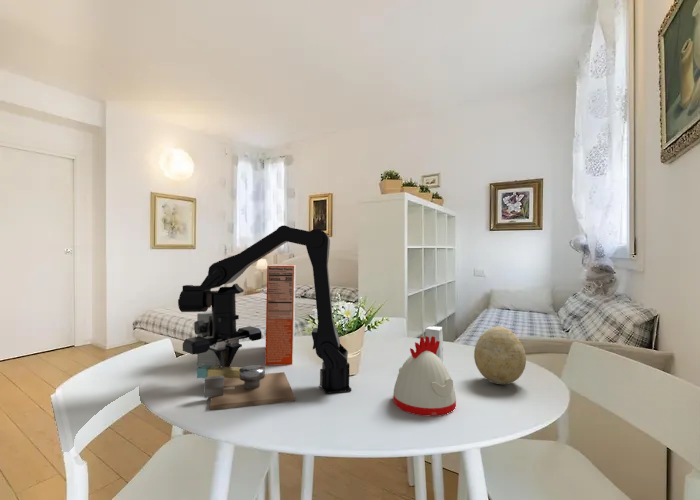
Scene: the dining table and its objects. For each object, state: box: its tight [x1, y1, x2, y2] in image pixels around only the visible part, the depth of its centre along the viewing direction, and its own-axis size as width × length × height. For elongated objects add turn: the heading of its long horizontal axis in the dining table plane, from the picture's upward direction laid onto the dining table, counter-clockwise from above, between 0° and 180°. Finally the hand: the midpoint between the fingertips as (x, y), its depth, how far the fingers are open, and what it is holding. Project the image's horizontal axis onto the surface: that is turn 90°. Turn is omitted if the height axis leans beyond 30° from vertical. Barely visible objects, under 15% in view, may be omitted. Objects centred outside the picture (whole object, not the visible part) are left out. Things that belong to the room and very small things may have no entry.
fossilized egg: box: [473, 325, 527, 385], centre depth 96 cm, size 13×13×15 cm
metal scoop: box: [196, 364, 266, 381], centre depth 88 cm, size 16×6×2 cm, turn 88°
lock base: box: [203, 371, 296, 411], centre depth 88 cm, size 20×19×5 cm
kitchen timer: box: [392, 335, 457, 416], centre depth 82 cm, size 14×14×15 cm
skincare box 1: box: [196, 310, 222, 367], centre depth 109 cm, size 8×7×16 cm
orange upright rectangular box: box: [264, 263, 297, 366], centre depth 120 cm, size 23×8×30 cm, turn 7°
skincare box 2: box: [425, 325, 444, 363], centre depth 108 cm, size 6×4×12 cm
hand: (225, 373), depth 91 cm, fingers closed
